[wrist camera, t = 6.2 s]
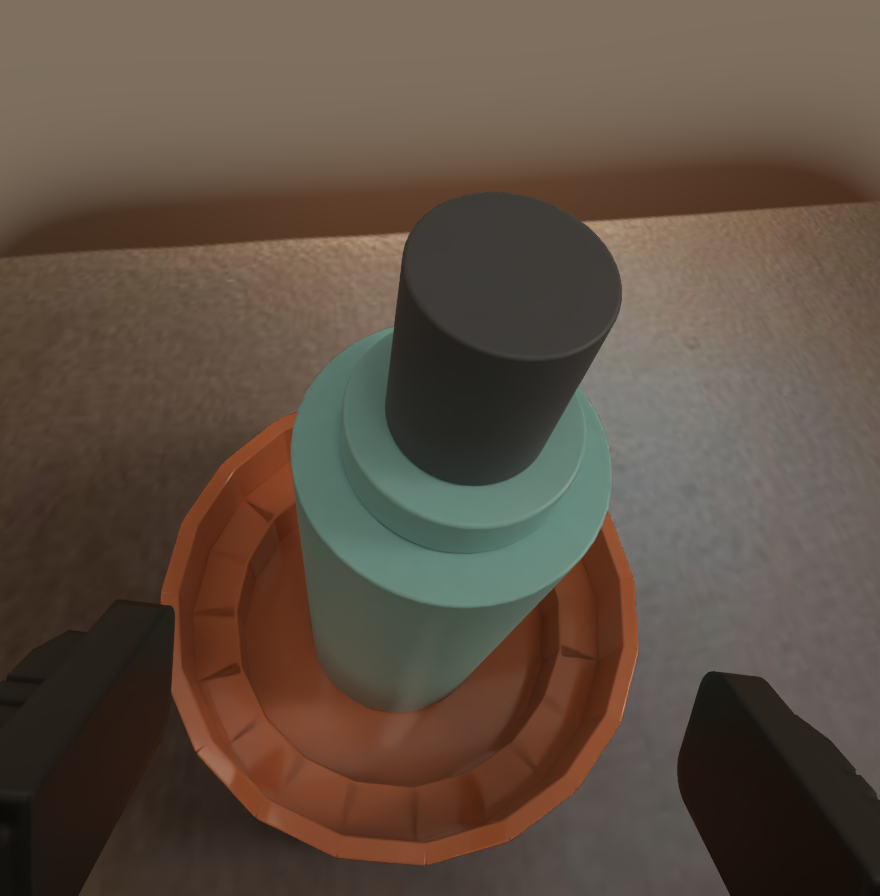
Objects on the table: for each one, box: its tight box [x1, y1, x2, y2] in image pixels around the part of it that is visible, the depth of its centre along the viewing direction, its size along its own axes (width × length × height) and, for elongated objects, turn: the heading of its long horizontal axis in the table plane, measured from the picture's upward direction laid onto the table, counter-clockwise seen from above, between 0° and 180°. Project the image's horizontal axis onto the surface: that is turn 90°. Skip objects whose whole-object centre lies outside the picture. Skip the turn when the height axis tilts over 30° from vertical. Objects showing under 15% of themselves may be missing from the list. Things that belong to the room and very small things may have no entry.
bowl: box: [160, 412, 639, 866], centre depth 22 cm, size 14×14×5 cm
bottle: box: [291, 192, 622, 713], centre depth 16 cm, size 6×6×18 cm
